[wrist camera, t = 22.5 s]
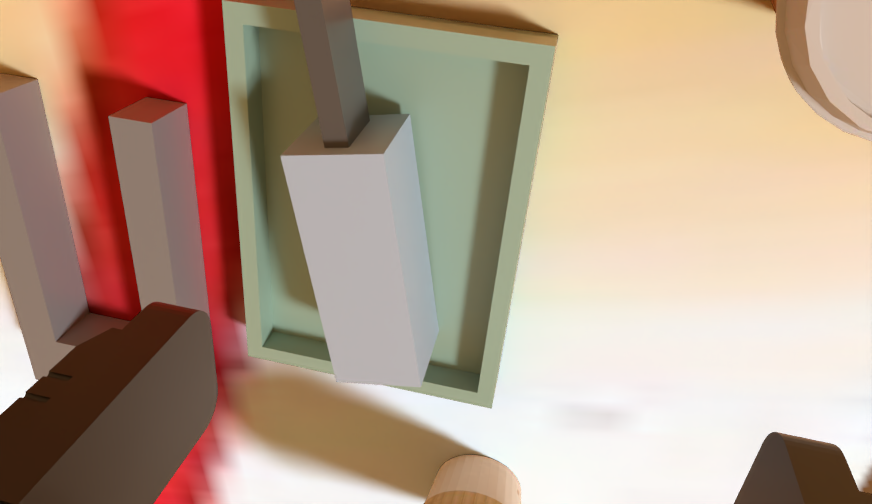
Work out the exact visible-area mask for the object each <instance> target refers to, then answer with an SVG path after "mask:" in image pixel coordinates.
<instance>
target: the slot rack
mask: <svg viewBox="0 0 872 504" xmlns="http://www.w3.org/2000/svg"><path fill="white" fill-rule="evenodd" d="M108 118H109V124H110V130H111V135H112V141H113V147H114V153H115V159H116V164H117V170H118V176H119V182H120V188H121V193H122V199H123V205H124V211H125V217H126V222H127V228H128V234H129V240H130V246H131V251H132V257H133V263H134V269H135V275H136V280H137V286H138V292H139V298H140V304H141V309H142V310H143V309H144V308H145V307H146V306H147V305H149V304H150V303H152V302H162V303H167V304H172V305H177V306H182V307H186V308H191V309H196V310H201V311H204V312H206V313H207V314H208V316H209V319H210V315H209V306H208V297H207V287H206V278H205V269H204V260H203V250H202V241H201V232H200V223H199V213H198V204H197V195H196V186H195V176H194V167H193V158H192V149H191V139H190V130H189V121H188V112H187V104H186V103H180V102H174V101H168V100H162V99H156V98H149V97H145V98H143V99H141V100H139V101H137V102H135V103H133V104H131V105H129V106H127V107H125V108H123V109H121V110H119V111H117V112H115V113H113V114H111V115H109V116H108ZM0 258H1V262H2V265H3V269H4V272H5V275H6V279H7V282H8V286H9V289H10V293H11V296H12V299H13V303H14V306H15V310H16V313H17V316H18V320H19V323H20V327H21V330H22V334H23V337H24V340H25V344H26V347H27V351H28V354H29V358H30V361H31V364H32V368H33V371H34V375H35V378H36V379H37V380H39V379H41V378H42V377H43V376H45V377H47V376H48V374H49V370H50V369H52V368H53V367H54V366H55V365H56V364H57V363H58V362H59V361H60V360H61V359H63V358H64V357H65V356H66V355H67V354H68V353H69V352H70V351H71V350H73V349H74V348H75V347H76V346H77V345H79V344H81V343H83V342H85V341H87V340H89V339H91V338H93V337H95V336H97V335H99V334H101V333H103V332H105V331H107V330H109V329H111V328H117V329H121V330H122V329H123V328H124V327H125V326H126V325H127V324H128V323H129V322H130V321H126V320H121V319H117V318H112V317H107V316H103V315H98V314H93V313H89V308H88V304H87V299H86V295H85V290H84V286H83V281H82V277H81V272H80V268H79V263H78V259H77V254H76V250H75V245H74V241H73V236H72V232H71V227H70V223H69V218H68V214H67V209H66V205H65V200H64V196H63V191H62V187H61V182H60V178H59V173H58V169H57V164H56V160H55V155H54V151H53V146H52V142H51V137H50V133H49V128H48V124H47V119H46V115H45V110H44V106H43V101H42V97H41V92H40V88H39V83H38V79H33V78H27V77H21V76H14V75H8V74H2V73H0Z"/></svg>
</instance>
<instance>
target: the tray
mask: <svg viewBox="0 0 872 504" xmlns="http://www.w3.org/2000/svg"><path fill="white" fill-rule="evenodd" d="M222 8H223V21H224V35H225V48H226V62H227V75H228V89H229V102H230V116H231V129H232V143H233V156H234V170H235V183H236V197H237V210H238V224H239V237H240V251H241V264H242V278H243V291H244V305H245V318H246V332H247V345H248V356H251V357H255V358H260V359H265V360H269V361H274V362H279V363H283V364H288V365H293V366H297V367H302V368H306V369H311V370H316V371H320V372H325V373H330V374H334V370H333V366H332V362H331V358H330V354H329V350H328V346H327V342H326V338H325V334H324V330H323V326H322V322H321V318H320V314H319V310H318V306H317V302H316V298H315V294H314V290H313V286H312V282H311V278H310V274H309V270H308V266H307V262H306V258H305V254H304V249H303V245H302V241H301V237H300V233H299V229H298V225H297V221H296V217H295V213H294V209H293V205H292V201H291V197H290V193H289V189H288V185H287V181H286V177H285V173H284V169H283V165H282V161H281V157H280V156H281V155H282V153H283V152H284V151H285V150H286V149H287V148H288V147H289V146H290V145H291V144H292V143H293V142H294V141H295V140H296V139H297V138H298V137H299V136H300V135H301V134H302V133H303V132H304V131H305V130H306V129H307V128H308V127H309V126H310V125H311V123H312V122H313V121H314V120H315V119H316V118H317V117H318V114H317V109H316V105H315V100H314V95H313V90H312V86H311V81H310V76H309V71H308V66H307V62H306V57H305V52H304V47H303V42H302V38H301V33H300V28H299V23H298V19H297V14H296V9H295V4H294V0H222ZM351 10H352V16H353V22H354V28H355V34H356V40H357V46H358V52H359V58H360V64H361V70H362V76H363V82H364V88H365V94H366V100H367V106H368V112H369V115H387V114H410V117H411V125H412V132H413V140H414V147H415V155H416V162H417V170H418V177H419V185H420V192H421V200H422V207H423V215H424V222H425V230H426V237H427V245H428V252H429V260H430V267H431V275H432V282H433V290H434V297H435V305H436V312H437V320H438V327H439V332H438V335H437V339H436V342H435V345H434V348H433V351H432V354H431V357H430V361H429V364H428V367H427V370H426V373H425V376H424V379H423V382H422V386H421V387H407V386H392V385H385V386H390V387H394V388H399V389H404V390H408V391H413V392H418V393H422V394H427V395H431V396H436V397H441V398H445V399H450V400H455V401H459V402H464V403H468V404H473V405H478V406H482V407H487V408H492V403H493V398H494V393H495V388H496V383H497V378H498V372H499V367H500V361H501V355H502V350H503V344H504V338H505V333H506V327H507V322H508V316H509V310H510V305H511V299H512V293H513V288H514V282H515V277H516V271H517V265H518V260H519V254H520V248H521V243H522V237H523V232H524V226H525V220H526V215H527V209H528V203H529V198H530V192H531V186H532V181H533V175H534V170H535V164H536V158H537V153H538V147H539V141H540V136H541V130H542V125H543V119H544V113H545V108H546V102H547V96H548V91H549V85H550V80H551V74H552V68H553V63H554V57H555V51H556V46H557V40H558V35H557V34H550V33H542V32H535V31H528V30H520V29H513V28H506V27H498V26H491V25H484V24H476V23H469V22H462V21H454V20H447V19H440V18H432V17H425V16H418V15H410V14H403V13H396V12H388V11H381V10H374V9H366V8H359V7H352V6H351Z"/></svg>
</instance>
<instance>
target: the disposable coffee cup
mask: <svg viewBox="0 0 872 504" xmlns="http://www.w3.org/2000/svg"><path fill="white" fill-rule="evenodd" d="M771 2H772V5H773V7H774V10H775V12H776V37H777V42H778V47H779V51H780V56H781V60H782V63H783V65H784V68H785V70H786V72H787V75H788V77H789V79H790V81H791V83H792V85H793V86H794V88H795V90H796V91H797V93H798V94H799V95H800V96H801V97H802V98H803V99H804V100H805V102H806V103H807V104H808V105H809V106H810V107H811V108H812V109H813V110H814V111H815V112H816V114H818V115H819V116H821V117H822V118H824V119H825V120H827V121H828V122H830V123H831V124H833V125H834V126H836V127H837V128H839V129H840V130H842V131H843V132H846V133H849V134H852V135H855V136H858V137H861V138H863V139H866V140H869V141H872V0H771Z"/></svg>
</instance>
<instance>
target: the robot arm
mask: <svg viewBox="0 0 872 504" xmlns="http://www.w3.org/2000/svg"><path fill="white" fill-rule="evenodd" d="M217 395H218V386H217V376H216V367H215V358H214V348H213V339H212V330H211V322H210V319H209V316H208V314H207V313H206V312H204V311H201V310H196V309H191V308H186V307H182V306H177V305H172V304H167V303H162V302H152V303H150V304H149V305H147V306H146V307H145V308H144V309H143V310H142V311H141V312H140V313H139V314H138V315H137V316H136V317H134V318H133V319H132V320H131V321H130V322H129V323H128V324H127V325H126V326H125V327H124V328H123V329H122V330H121V329H117V328H111V329H109V330H107V331H105V332H103V333H101V334H99V335H97V336H95V337H93V338H91V339H89V340H87V341H85V342H83V343H81V344H79V345H77V346H76V347H75V348H74V349H73V350H71V351H70V352H69V353H68V354H67V355H66V356H65V357H64V358H63V359H61V360H60V361H59V362H58V363H57V364H56V365H55V366H54V367H53V368H52V369H50V370H49V374H48V376H47V377H45V376H43V377H42V378H41V379H39V380H38V381H37V382H36V383H35V384H34V385H33V386H32V387H31V388H30V389H28V390H27V391H26V395H25V397H24V398H19V399H17V400H16V401H15V402H14V403H13V404H12V405H11V406H10V407H9V408H8V409H6V410H5V411H4V412H3V413H2V414H1V415H0V504H154V502H155V501H156V499H157V498H158V496H159V495H160V494H161V492H162V491H163V489H164V488H165V487H166V485H167V484H168V482H169V481H170V479H171V478H172V477H173V475H174V474H175V472H176V471H177V469H178V468H179V467H180V465H181V464H182V462H183V461H184V460H185V458H186V457H187V455H188V454H189V452H190V451H191V450H192V448H193V447H194V445H195V444H196V443H197V441H198V440H199V438H200V437H201V435H202V434H203V433H204V431H205V430H206V428H207V426H208V424H209V423H210V420H211V418H212V416H213V413H214V410H215V406H216V402H217ZM734 504H872V494H870V493H865V492H861V491H859V490H858V488H857V485H856V483H855V480H854V478H853V476H852V473H851V471H850V468H849V466H848V464H847V461H846V459H845V457H844V455H843V453H842V451H841V450H840V448H839V447H837V446H836V445H834V444H830V443H826V442H821V441H816V440H811V439H806V438H802V437H797V436H792V435H787V434H782V433H778V432H772V433H770V434H769V435H768V436H767V437H766V439H765V440H764V442H763V444H762V446H761V448H760V450H759V452H758V454H757V456H756V458H755V461H754V463H753V465H752V467H751V469H750V471H749V473H748V475H747V477H746V479H745V481H744V484H743V486H742V488H741V490H740V492H739V494H738V496H737V498H736V500H735V502H734Z"/></svg>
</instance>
